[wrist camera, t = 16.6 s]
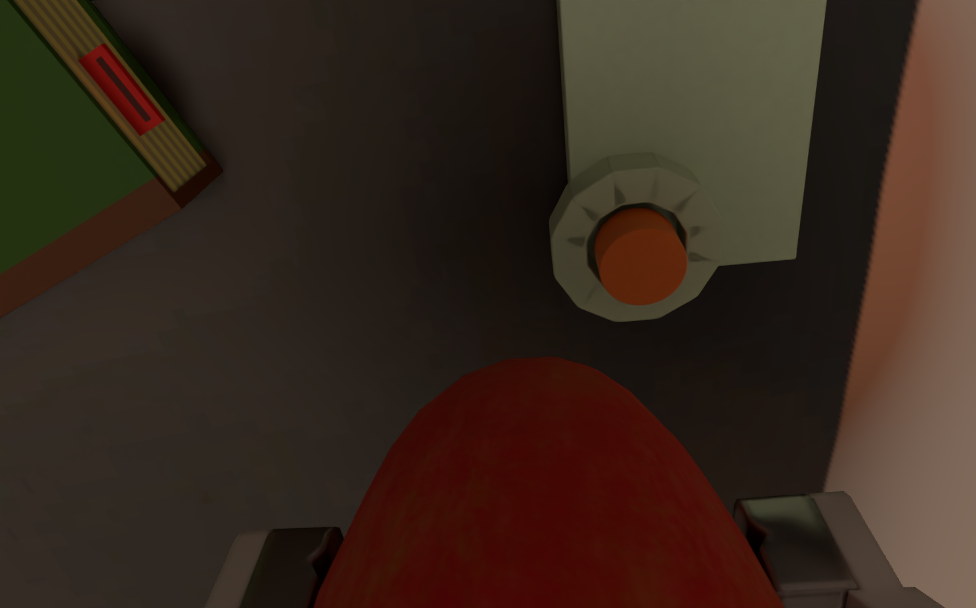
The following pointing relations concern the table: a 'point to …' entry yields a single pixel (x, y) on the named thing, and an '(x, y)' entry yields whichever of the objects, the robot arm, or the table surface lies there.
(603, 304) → the scale
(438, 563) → the apple
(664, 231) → the button
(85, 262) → the hardcover book
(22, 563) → the table surface
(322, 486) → the table surface
